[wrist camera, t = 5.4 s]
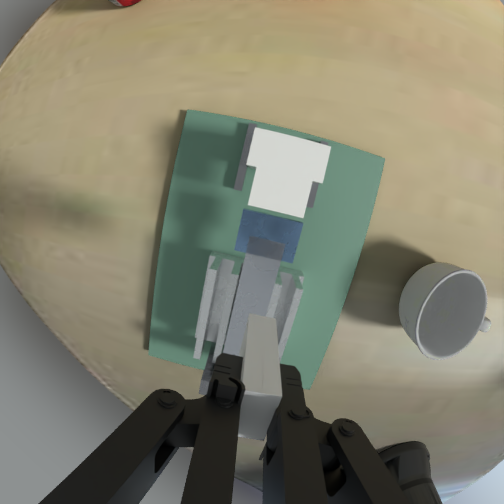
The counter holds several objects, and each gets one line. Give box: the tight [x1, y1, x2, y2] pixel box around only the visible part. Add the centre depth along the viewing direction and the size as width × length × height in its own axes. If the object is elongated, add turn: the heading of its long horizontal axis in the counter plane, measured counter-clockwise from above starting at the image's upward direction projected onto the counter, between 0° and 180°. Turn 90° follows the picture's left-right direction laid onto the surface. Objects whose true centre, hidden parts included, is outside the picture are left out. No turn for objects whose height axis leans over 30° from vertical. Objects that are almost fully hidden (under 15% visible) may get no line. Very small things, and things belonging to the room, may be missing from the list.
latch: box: [246, 127, 331, 218], centre depth 26 cm, size 6×6×8 cm
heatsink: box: [193, 123, 328, 395], centre depth 29 cm, size 27×10×9 cm, turn 167°
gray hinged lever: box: [223, 208, 303, 356], centre depth 27 cm, size 19×5×1 cm, turn 167°
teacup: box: [399, 262, 491, 360], centre depth 30 cm, size 14×11×8 cm
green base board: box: [149, 110, 385, 390], centre depth 33 cm, size 30×22×1 cm
